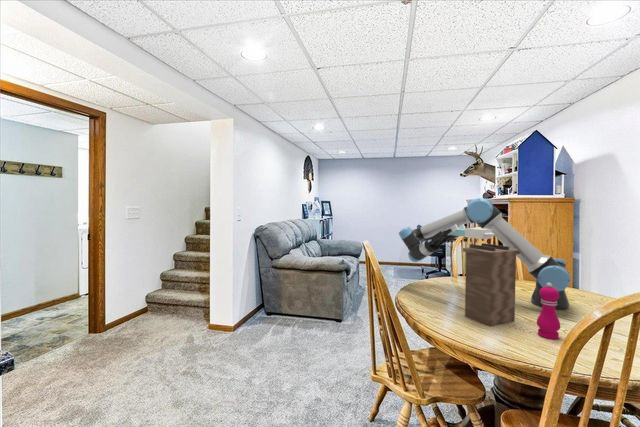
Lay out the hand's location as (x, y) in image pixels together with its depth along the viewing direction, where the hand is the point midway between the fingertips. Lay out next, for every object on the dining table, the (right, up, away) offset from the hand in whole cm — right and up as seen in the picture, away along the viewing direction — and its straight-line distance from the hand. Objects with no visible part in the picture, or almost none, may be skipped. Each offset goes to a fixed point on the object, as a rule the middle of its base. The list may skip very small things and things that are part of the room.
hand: (460, 226), depth 149 cm
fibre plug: (+2, -4, -5) cm, 7 cm away
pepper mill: (+19, -40, -31) cm, 54 cm away
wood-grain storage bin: (+6, -39, -13) cm, 42 cm away
